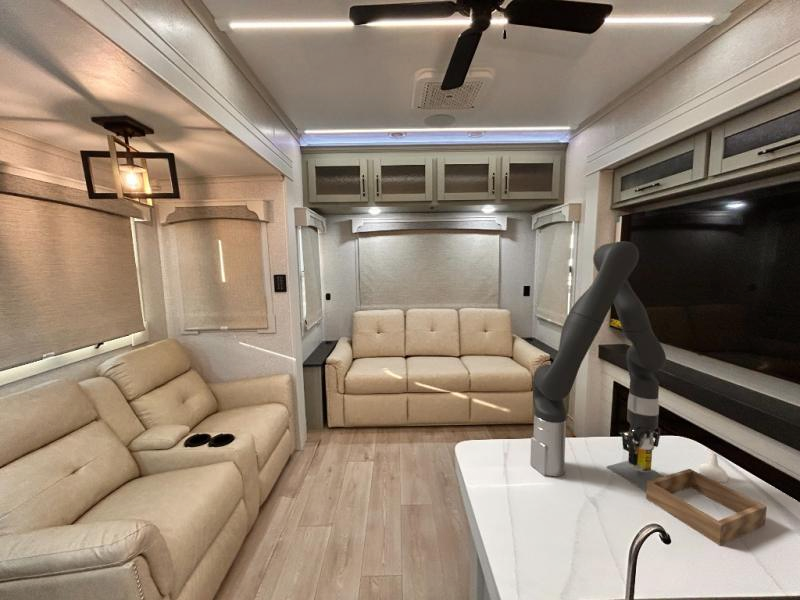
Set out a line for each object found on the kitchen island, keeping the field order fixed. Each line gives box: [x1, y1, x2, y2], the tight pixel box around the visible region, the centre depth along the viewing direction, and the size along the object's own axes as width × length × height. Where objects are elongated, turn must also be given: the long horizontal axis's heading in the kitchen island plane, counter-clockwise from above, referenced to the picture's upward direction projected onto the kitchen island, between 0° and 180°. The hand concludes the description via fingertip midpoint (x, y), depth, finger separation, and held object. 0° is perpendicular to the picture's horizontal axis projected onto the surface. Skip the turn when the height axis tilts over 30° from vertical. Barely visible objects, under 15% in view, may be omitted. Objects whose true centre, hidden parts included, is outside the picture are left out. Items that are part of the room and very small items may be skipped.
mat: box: [606, 460, 665, 492], centre depth 98 cm, size 12×12×1 cm
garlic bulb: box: [698, 451, 728, 484], centre depth 96 cm, size 6×6×8 cm
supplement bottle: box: [629, 437, 653, 472], centre depth 97 cm, size 6×6×10 cm
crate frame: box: [645, 468, 767, 546], centre depth 82 cm, size 18×16×5 cm
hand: (639, 461), depth 97 cm, fingers closed on supplement bottle, 5 cm apart
